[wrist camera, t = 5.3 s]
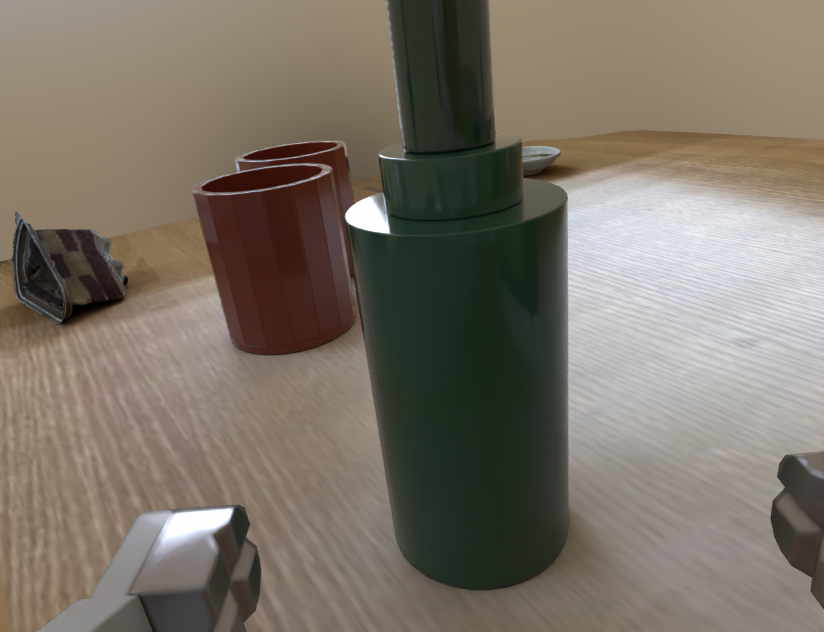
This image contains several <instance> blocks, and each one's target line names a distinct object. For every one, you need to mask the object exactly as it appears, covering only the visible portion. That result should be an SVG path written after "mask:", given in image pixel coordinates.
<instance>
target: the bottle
mask: <svg viewBox="0 0 824 632" xmlns="http://www.w3.org/2000/svg"><path fill="white" fill-rule="evenodd" d="M386 6H387V15H388V24H389V33H390V42H391V51H392V59H393V69H394V77H395V86H396V95H397V104H398V113H399V121H400V129H401V139H402V143H400V144H396V145H393V146H390V147H388V148H385V149H383V150H382V151H380V152H379V154H378V157H379V165H380V172H381V180H382V188H383V192H382V193H379V194H376V195H373V196H371V197H368V198H366V199H364V200H362V201H360V202H358V203H356V204H354V205H353V206H352V207H350V208H349V209H348V210H347V212H346V213H345V218H344V220H345V226H346V232H347V239H348V245H349V251H350V257H351V264H352V270H353V276H354V282H355V288H356V295H357V301H358V307H359V313H360V320H361V326H362V332H363V338H364V345H365V351H366V357H367V363H368V369H369V376H370V382H371V388H372V394H373V401H374V407H375V413H376V419H377V426H378V432H379V438H380V444H381V451H382V457H383V463H384V469H385V475H386V482H387V488H388V494H389V500H390V507H391V513H392V519H393V525H394V532H395V536H396V540H397V543H398V545H399V548H400V550H401V551H402V553H403V554H404V556H405V557H406V559H407V560H408V561H409V562H410V563H411V564H412V565H413V566H414V567H415V568H416V569H418V570H419V571H420V572H421V573H423V574H425V575H427V576H428V577H430V578H432V579H434V580H436V581H439V582H441V583H444V584H447V585H450V586H454V587H459V588H465V589H477V590H481V589H496V588H502V587H507V586H511V585H515V584H518V583H520V582H523V581H525V580H528V579H530V578H531V577H533V576H535V575H537V574H539V573H540V572H541V571H543V570H544V569H545V568H547V567H548V566H549V565H550V564H551V563H552V562H553V561H554V560H555V559H556V557H557V556H558V555H559V553H560V552H561V550H562V548H563V546H564V544H565V541H566V538H567V535H568V527H569V494H568V197H567V193H566V192H565V191H564V189H562V188H561V187H559V186H557V185H554V184H551V183H548V182H544V181H540V180H534V179H527V178H523V159H522V139H521V138H520V137H519V136H516V135H512V134H505V133H496V130H495V110H494V91H493V71H492V54H491V53H492V51H491V31H490V11H489V0H386Z"/></svg>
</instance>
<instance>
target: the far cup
mask: <svg viewBox="0 0 824 632" xmlns="http://www.w3.org/2000/svg"><path fill="white" fill-rule="evenodd" d="M235 161H236V166H237V171H243V170H248V169H254V168H260V167H266V166H275V165H284V164H298V163H315V164H326V165H328V166H330V167H332V168H333V174H334V180H335V186H336V192H337V199H338V205H339V211H340V217H341V223H342V229H343V235H344V241H345V248H346V254H347V260H348V266H349V272H350V277H352V276H353V270H352V264H351V257H350V251H349V245H348V239H347V232H346V226H345V220H344V218H345V213H346V212H347V210H348V209H349V208H350V207H352V206H353V205H354V204H355V203H354V196H353V189H352V183H351V176H350V170H349V163H348V157H347V150H346V144H345V143H344V142H341V141H326V140H325V141H309V142H300V143H291V144H285V145H279V146H273V147H268V148H263V149H259V150H254V151H251V152H248V153H245V154H241V155H240V156H238V157H237V158H235Z"/></svg>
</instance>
